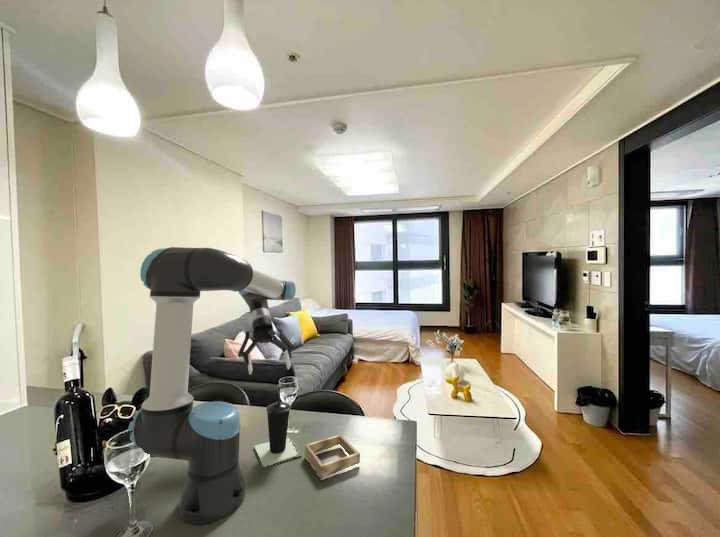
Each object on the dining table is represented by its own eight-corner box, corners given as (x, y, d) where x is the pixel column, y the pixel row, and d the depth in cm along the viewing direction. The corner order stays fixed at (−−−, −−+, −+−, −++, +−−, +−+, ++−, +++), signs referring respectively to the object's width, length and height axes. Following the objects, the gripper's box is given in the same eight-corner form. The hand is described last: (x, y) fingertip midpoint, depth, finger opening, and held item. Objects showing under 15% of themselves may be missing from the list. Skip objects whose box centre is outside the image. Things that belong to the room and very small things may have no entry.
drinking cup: (286, 457, 95) (287, 392, 96) (261, 455, 96) (263, 391, 96) (292, 443, 103) (293, 383, 103) (270, 442, 103) (271, 383, 104)
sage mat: (262, 468, 91) (263, 465, 91) (254, 448, 101) (254, 445, 101) (301, 456, 97) (301, 453, 97) (289, 438, 107) (289, 436, 108)
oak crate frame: (321, 481, 86) (321, 466, 86) (304, 457, 97) (305, 444, 97) (359, 467, 92) (359, 453, 92) (340, 446, 103) (340, 434, 103)
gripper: (289, 325, 131) (301, 370, 118) (227, 330, 119) (231, 380, 105) (294, 314, 127) (306, 359, 114) (229, 317, 114) (234, 368, 101)
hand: (270, 369), depth 109 cm, fingers open, 13 cm apart
